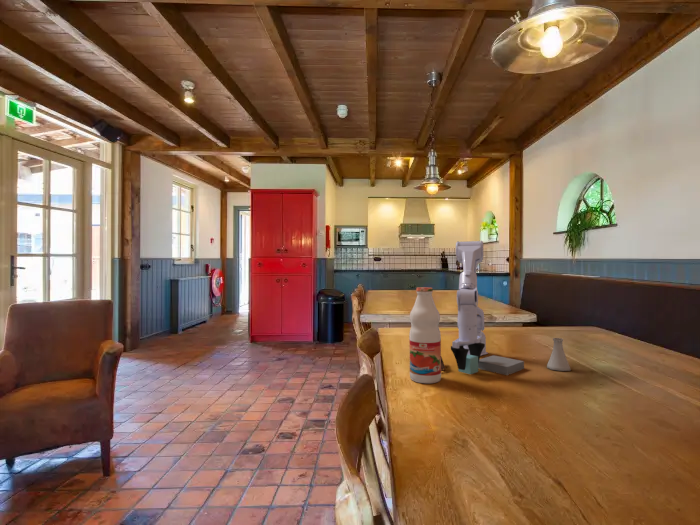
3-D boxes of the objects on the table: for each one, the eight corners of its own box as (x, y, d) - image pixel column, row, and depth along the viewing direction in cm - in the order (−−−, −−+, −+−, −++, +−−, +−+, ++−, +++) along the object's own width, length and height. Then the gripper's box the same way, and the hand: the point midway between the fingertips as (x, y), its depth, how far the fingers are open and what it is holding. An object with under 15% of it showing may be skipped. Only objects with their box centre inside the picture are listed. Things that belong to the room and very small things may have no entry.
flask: (574, 372, 119) (574, 341, 120) (550, 371, 121) (549, 340, 121) (566, 366, 127) (565, 336, 127) (543, 365, 128) (542, 336, 128)
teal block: (466, 368, 125) (465, 354, 125) (478, 371, 121) (478, 356, 121) (458, 371, 122) (458, 356, 122) (470, 374, 118) (470, 358, 118)
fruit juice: (443, 376, 116) (442, 286, 116) (437, 385, 107) (436, 288, 108) (414, 373, 120) (413, 286, 120) (406, 381, 111) (405, 288, 111)
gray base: (493, 363, 132) (493, 355, 132) (524, 370, 124) (524, 361, 124) (476, 369, 125) (475, 360, 126) (507, 376, 117) (507, 367, 117)
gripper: (465, 329, 114) (466, 374, 114) (490, 324, 123) (491, 365, 123) (446, 326, 119) (447, 369, 119) (471, 321, 129) (472, 361, 128)
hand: (468, 367), depth 121 cm, fingers open, 7 cm apart
